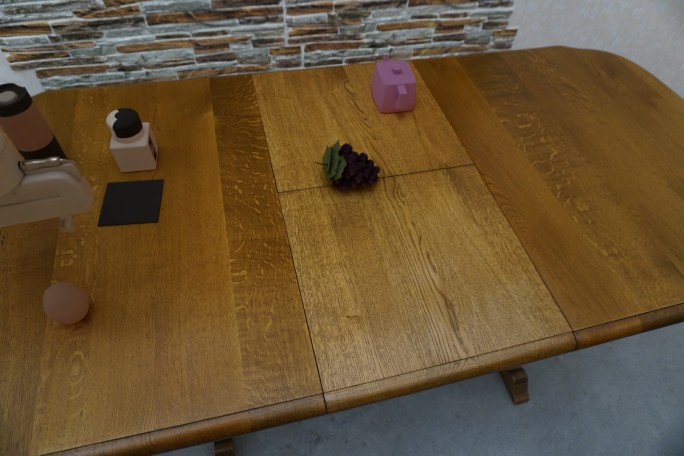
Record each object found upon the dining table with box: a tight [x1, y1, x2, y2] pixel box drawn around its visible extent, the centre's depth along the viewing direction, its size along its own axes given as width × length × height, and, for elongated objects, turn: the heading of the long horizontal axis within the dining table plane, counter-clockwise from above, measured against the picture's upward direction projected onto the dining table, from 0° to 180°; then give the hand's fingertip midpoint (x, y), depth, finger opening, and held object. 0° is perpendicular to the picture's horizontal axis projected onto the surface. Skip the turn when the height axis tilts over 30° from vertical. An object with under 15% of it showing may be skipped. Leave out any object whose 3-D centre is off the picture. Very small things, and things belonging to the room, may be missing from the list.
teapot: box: [370, 54, 417, 114], centre depth 120 cm, size 18×10×10 cm, turn 11°
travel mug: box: [0, 82, 69, 161], centre depth 96 cm, size 8×8×20 cm
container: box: [105, 107, 159, 173], centre depth 102 cm, size 8×8×13 cm
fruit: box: [313, 139, 381, 192], centre depth 102 cm, size 10×11×15 cm
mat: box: [96, 178, 165, 228], centre depth 99 cm, size 12×12×1 cm
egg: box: [42, 281, 90, 325], centre depth 80 cm, size 7×7×9 cm
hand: (34, 235), depth 67 cm, fingers open, 8 cm apart
